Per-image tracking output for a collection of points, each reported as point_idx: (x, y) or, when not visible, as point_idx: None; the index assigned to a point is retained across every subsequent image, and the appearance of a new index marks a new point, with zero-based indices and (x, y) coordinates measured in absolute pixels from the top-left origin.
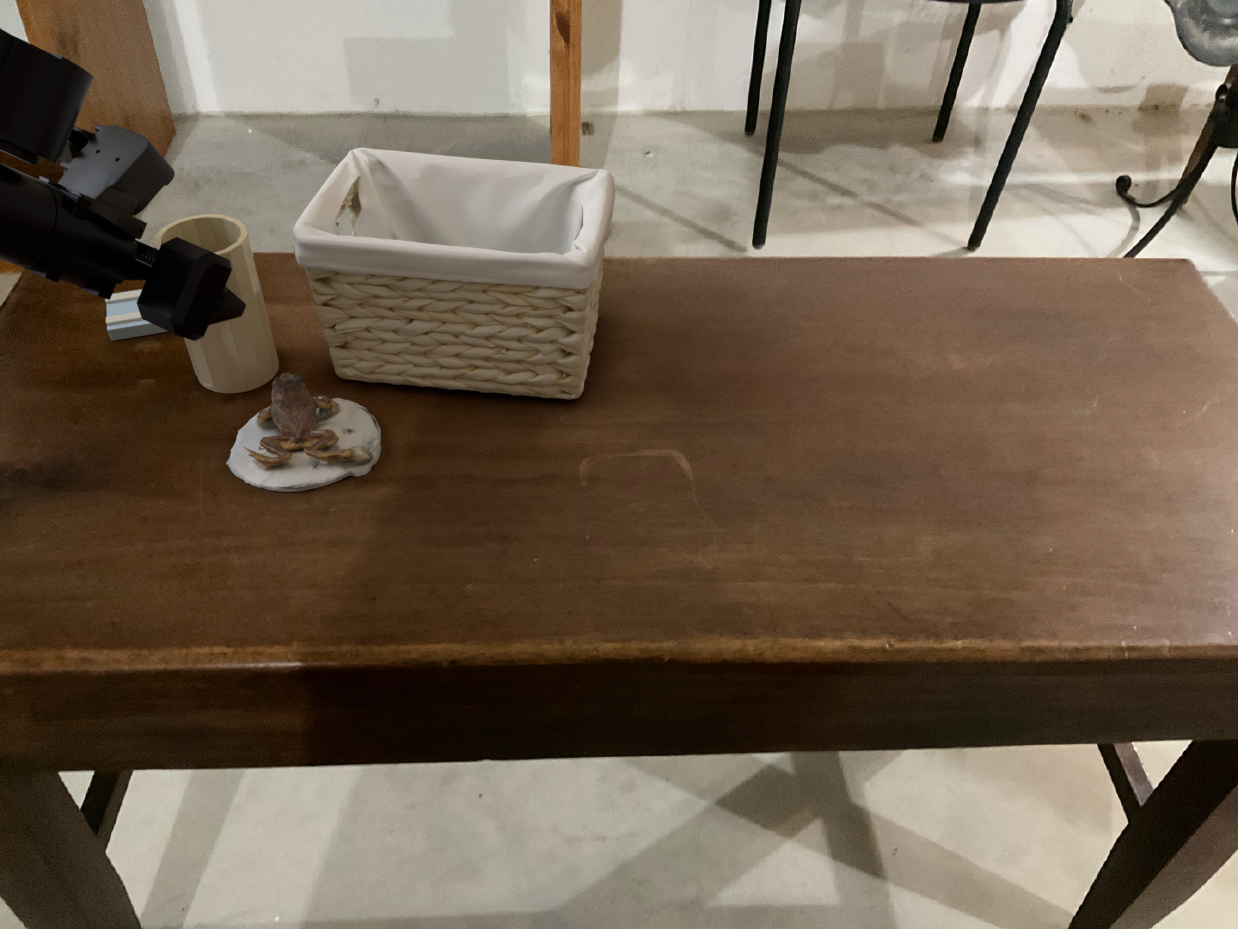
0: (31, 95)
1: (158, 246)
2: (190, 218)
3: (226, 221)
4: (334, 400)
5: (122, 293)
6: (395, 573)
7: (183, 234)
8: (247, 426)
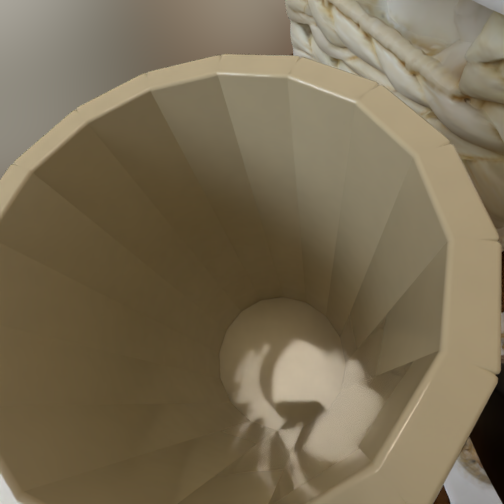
0: None
1: None
2: (20, 177)
3: (173, 95)
4: (501, 321)
5: None
6: None
7: (48, 260)
8: (458, 491)
